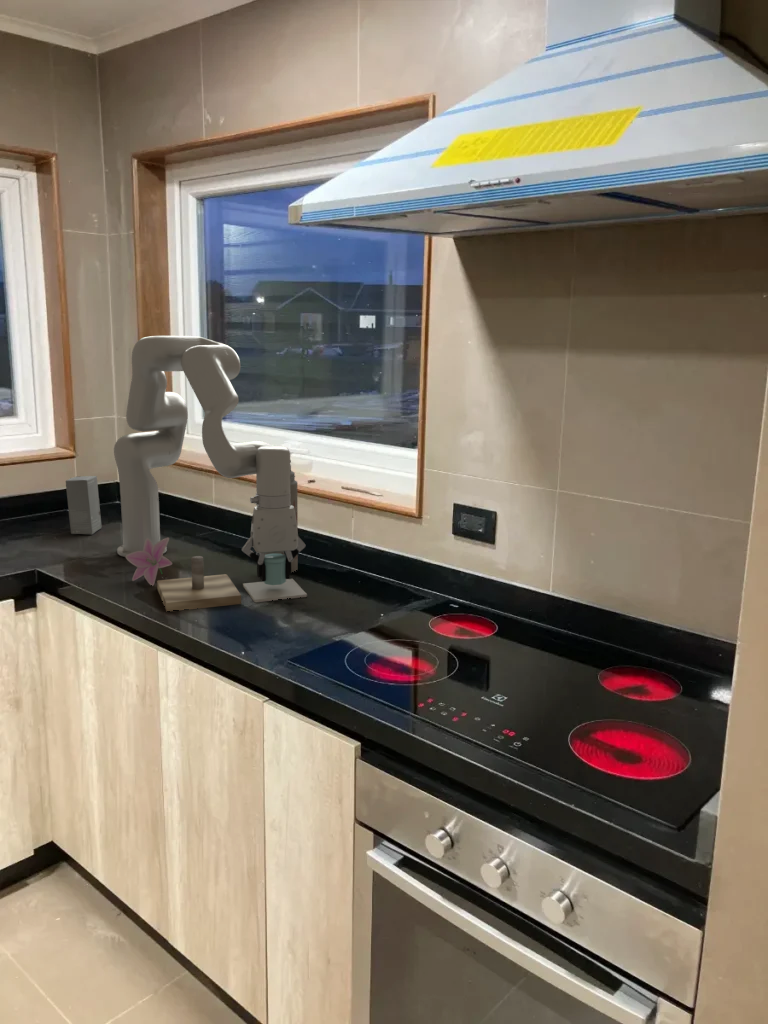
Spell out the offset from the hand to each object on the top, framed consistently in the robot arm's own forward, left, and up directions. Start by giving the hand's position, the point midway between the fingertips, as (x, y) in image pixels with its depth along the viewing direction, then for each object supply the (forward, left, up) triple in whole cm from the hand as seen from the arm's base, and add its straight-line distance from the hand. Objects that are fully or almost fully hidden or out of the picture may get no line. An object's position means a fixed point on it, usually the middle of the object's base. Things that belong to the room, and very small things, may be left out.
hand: (274, 577), depth 189 cm
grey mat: (0, 0, -3) cm, 3 cm away
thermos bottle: (-16, +6, -4) cm, 17 cm away
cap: (0, 0, -1) cm, 1 cm away
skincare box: (-69, -38, -4) cm, 79 cm away
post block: (-2, -17, -3) cm, 17 cm away
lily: (-18, -26, -4) cm, 32 cm away
